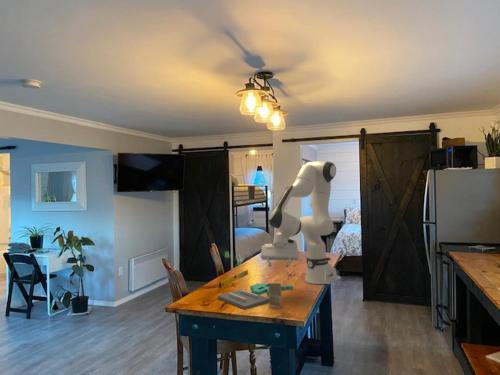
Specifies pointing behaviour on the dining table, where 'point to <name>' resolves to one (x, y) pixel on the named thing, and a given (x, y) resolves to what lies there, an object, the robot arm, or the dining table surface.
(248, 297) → the plate
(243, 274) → the spirit level
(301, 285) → the dining table surface
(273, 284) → the grey brown upright block
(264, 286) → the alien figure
